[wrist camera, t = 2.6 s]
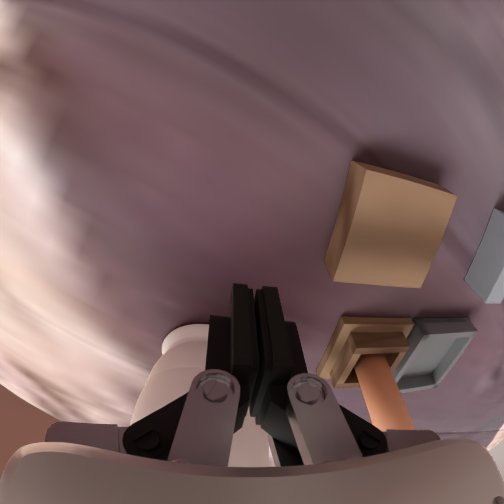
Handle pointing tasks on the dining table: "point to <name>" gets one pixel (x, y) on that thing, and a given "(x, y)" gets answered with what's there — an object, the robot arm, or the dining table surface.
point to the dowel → (382, 393)
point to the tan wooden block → (387, 227)
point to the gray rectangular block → (489, 262)
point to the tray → (432, 351)
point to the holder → (363, 346)
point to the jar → (178, 383)
